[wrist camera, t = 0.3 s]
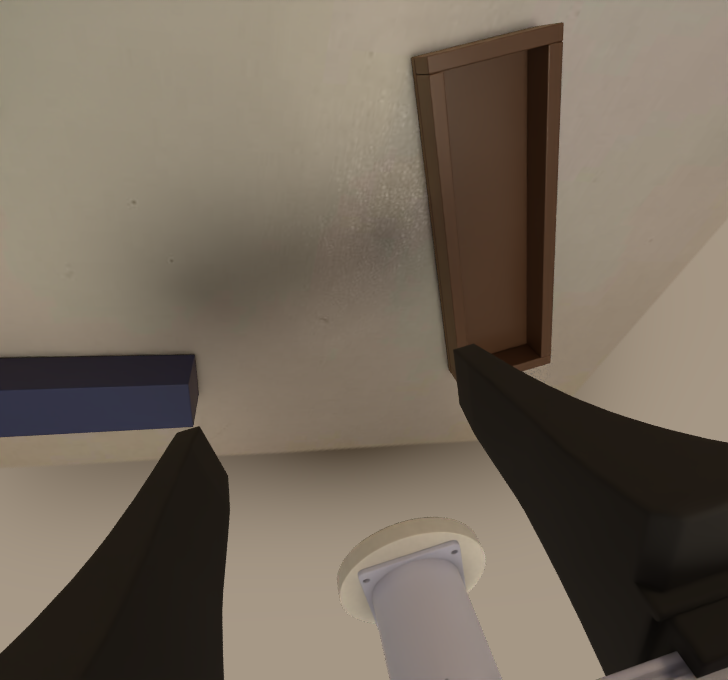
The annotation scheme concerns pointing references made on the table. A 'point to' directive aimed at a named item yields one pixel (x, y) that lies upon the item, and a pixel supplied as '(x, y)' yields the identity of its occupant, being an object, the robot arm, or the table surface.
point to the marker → (96, 394)
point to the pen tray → (494, 188)
